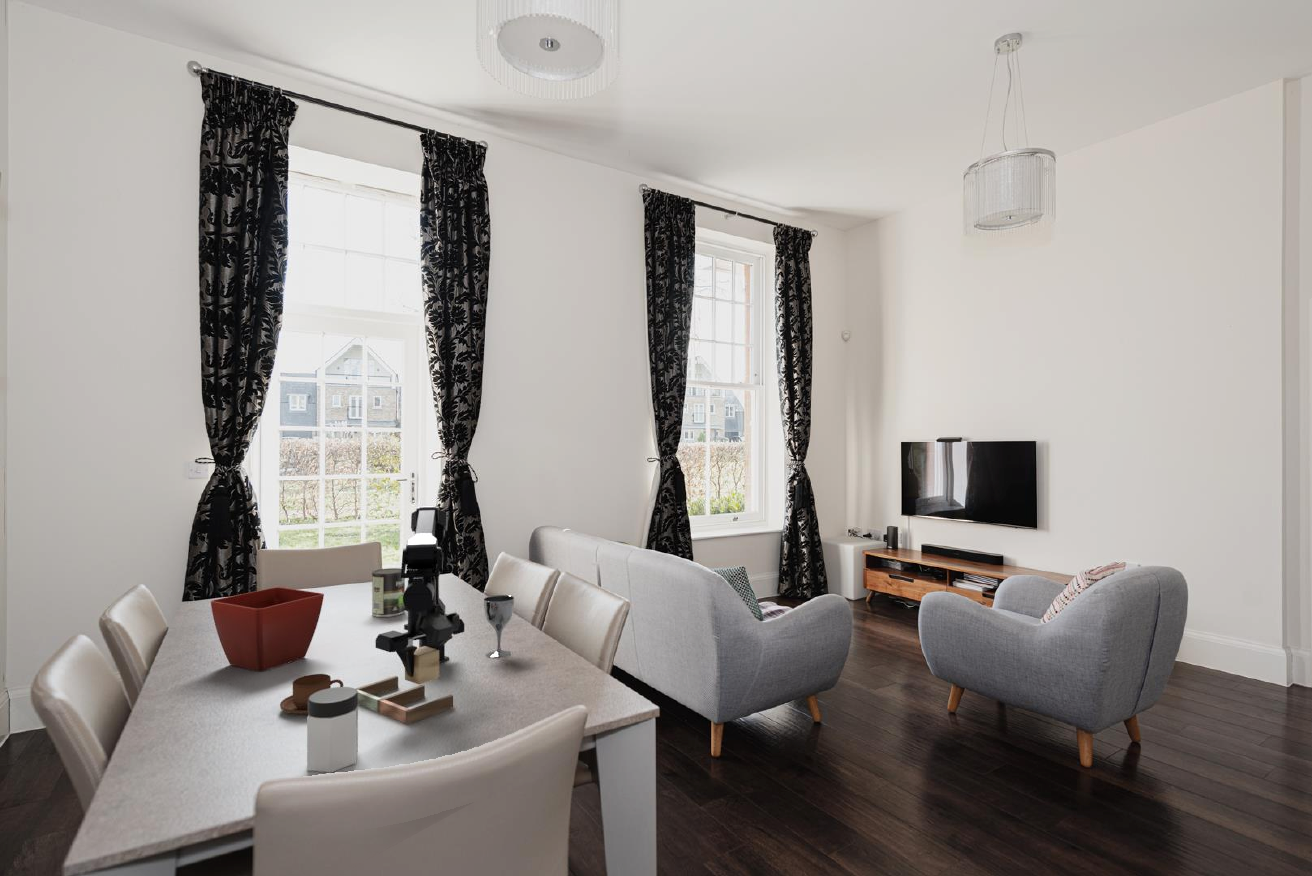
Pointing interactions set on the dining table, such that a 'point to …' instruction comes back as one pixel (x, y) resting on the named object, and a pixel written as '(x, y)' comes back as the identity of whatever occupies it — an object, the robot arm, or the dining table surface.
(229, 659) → the plant pot
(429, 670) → the block
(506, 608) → the wine glass
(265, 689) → the dining table surface
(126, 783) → the dining table surface
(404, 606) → the robot arm
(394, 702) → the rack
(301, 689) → the cup and saucer
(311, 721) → the jar
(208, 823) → the dining table surface
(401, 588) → the coffee can
